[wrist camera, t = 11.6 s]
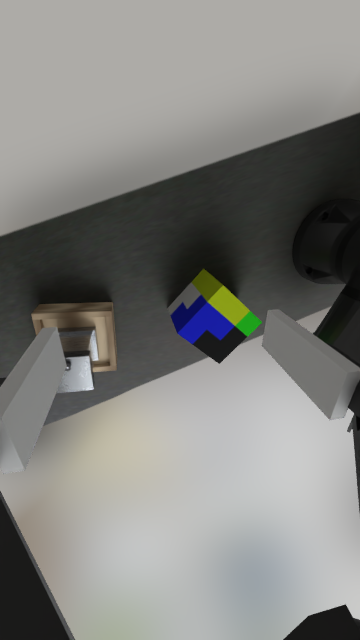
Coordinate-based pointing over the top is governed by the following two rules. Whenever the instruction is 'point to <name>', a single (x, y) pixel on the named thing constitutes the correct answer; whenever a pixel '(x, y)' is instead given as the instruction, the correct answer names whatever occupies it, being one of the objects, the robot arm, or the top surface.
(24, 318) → the top surface
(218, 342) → the puzzle toy
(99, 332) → the tray
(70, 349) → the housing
